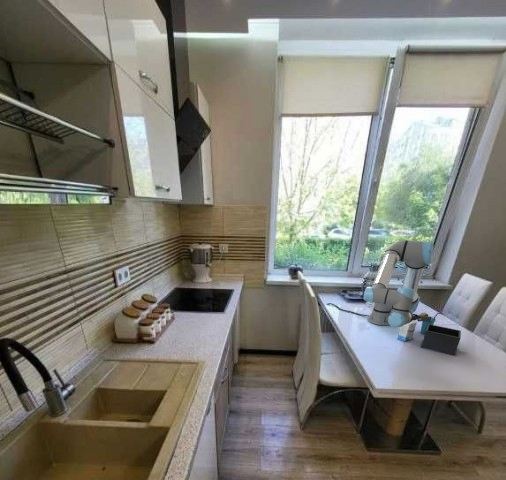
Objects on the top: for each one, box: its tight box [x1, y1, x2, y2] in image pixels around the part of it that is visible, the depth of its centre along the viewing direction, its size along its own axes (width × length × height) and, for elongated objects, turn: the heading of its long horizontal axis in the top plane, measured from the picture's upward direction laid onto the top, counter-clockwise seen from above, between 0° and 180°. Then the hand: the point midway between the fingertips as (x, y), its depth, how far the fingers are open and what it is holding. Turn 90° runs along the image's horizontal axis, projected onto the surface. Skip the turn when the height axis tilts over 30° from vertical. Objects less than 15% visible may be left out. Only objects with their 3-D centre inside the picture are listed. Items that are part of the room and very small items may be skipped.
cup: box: [419, 312, 445, 336], centre depth 179 cm, size 14×8×15 cm, turn 84°
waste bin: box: [420, 324, 462, 356], centre depth 161 cm, size 17×13×11 cm
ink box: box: [397, 320, 418, 342], centre depth 170 cm, size 8×5×15 cm, turn 123°
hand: (413, 313), depth 160 cm, fingers open, 13 cm apart
